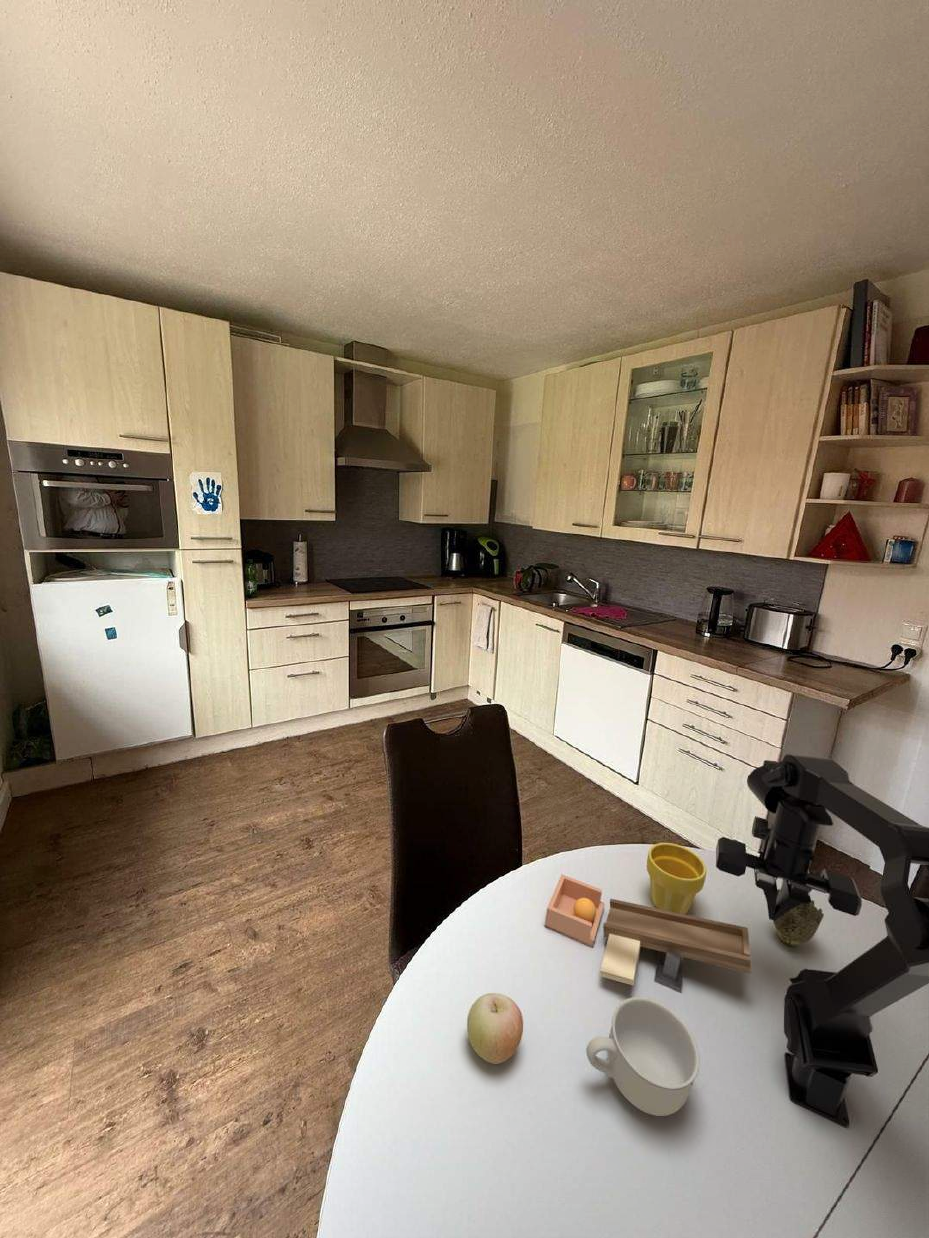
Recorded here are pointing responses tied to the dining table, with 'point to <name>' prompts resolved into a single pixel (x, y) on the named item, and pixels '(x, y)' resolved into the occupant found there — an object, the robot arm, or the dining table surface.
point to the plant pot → (674, 876)
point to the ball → (585, 909)
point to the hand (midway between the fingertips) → (771, 918)
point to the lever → (668, 939)
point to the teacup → (648, 1056)
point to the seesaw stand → (669, 969)
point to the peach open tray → (563, 914)
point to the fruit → (495, 1027)
